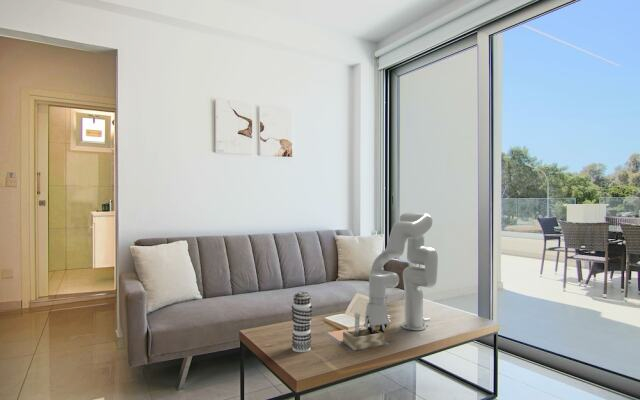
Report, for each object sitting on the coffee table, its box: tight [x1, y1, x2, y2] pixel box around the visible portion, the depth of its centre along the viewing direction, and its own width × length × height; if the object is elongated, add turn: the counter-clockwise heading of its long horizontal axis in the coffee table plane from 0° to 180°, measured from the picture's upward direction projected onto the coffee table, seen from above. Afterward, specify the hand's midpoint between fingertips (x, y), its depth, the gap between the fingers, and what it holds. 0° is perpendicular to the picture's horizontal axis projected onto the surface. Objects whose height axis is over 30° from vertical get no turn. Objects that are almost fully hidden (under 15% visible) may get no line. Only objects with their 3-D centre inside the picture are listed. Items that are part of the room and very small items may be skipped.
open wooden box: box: [343, 327, 385, 350], centre depth 178 cm, size 16×10×5 cm, turn 116°
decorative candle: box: [291, 291, 313, 353], centre depth 175 cm, size 9×9×25 cm
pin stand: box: [323, 312, 391, 353], centre depth 185 cm, size 21×26×16 cm
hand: (376, 339), depth 182 cm, fingers open, 4 cm apart
